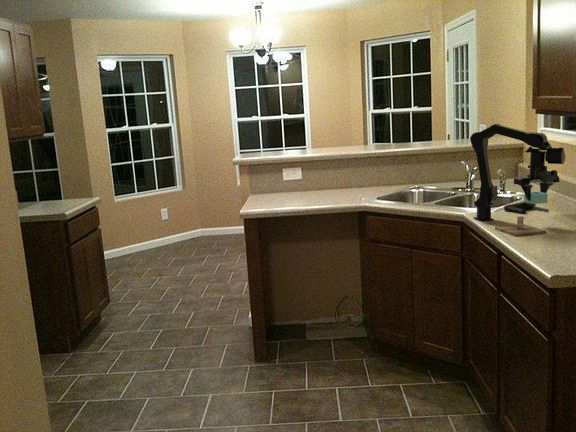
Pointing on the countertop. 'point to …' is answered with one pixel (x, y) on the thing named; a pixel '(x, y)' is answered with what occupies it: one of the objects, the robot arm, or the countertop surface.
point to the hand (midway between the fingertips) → (535, 199)
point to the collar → (537, 198)
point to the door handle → (523, 207)
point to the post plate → (520, 229)
